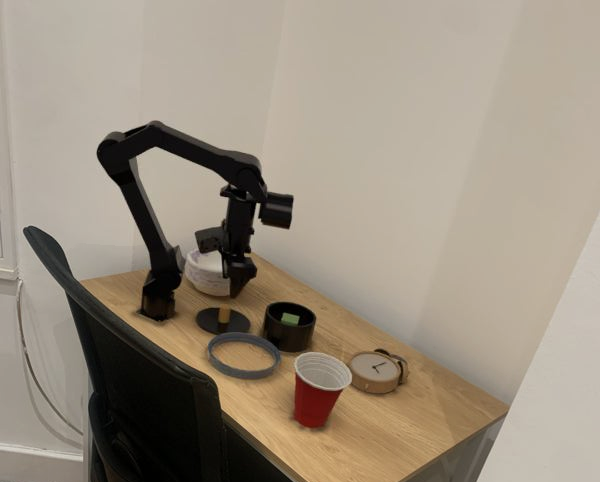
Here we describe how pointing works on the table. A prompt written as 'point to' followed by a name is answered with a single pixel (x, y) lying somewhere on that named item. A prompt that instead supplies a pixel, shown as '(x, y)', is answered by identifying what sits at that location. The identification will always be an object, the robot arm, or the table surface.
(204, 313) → the tin lid
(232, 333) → the blue-grey round rimmed part
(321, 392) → the plastic cup
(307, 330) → the tin
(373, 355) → the alarm clock
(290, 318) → the green block
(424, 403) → the table surface
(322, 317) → the table surface
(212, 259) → the paper bowls
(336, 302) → the table surface
